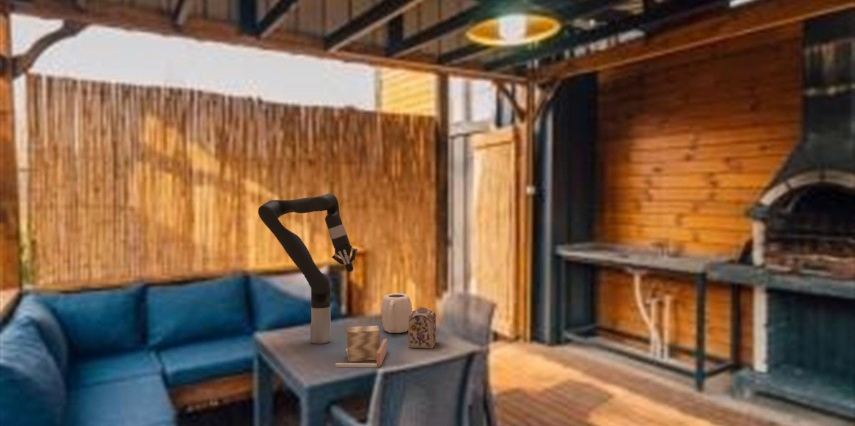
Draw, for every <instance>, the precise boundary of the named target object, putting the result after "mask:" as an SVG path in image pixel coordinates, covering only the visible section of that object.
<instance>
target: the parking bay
mask: <svg viewBox="0 0 855 426" xmlns="http://www.w3.org/2000/svg"><path fill="white" fill-rule="evenodd" d="M345 353H347V348H346V349H345ZM387 353H388V338H383V339H382V342H380V347H379V349H378V351H377V353H376V359H377V360H376V363H375V362H374V363H369V362H365V363H361V362H348V363H347V362H335V368H381V366H382V364H383V362H384V360H385V358H386V355H387Z"/></svg>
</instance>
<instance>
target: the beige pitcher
mask: <svg viewBox="0 0 855 426" xmlns="http://www.w3.org/2000/svg"><path fill="white" fill-rule="evenodd" d="M380 306H381V307H380V313H381V320H382V322H381V323H382V326H383V329H384V331H385V332H387V333H390V334H391V333H392V334H401V333H406V332H407V331H408V325H409V320H408V319H409V316H410V313H411V312H412V311H413V307H412V301H411V298H410V295H408V294H406V293H405V290H401V293H399V292H398V293H396V292H395V293H388V294H386V295H384V296H383V298H382V302H381V305H380Z"/></svg>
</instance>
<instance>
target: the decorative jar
mask: <svg viewBox="0 0 855 426" xmlns="http://www.w3.org/2000/svg"><path fill="white" fill-rule="evenodd" d="M408 320H409V325H408V330H407V331H408V348H411V349H434V346H435V344H436V343H437V315H436V312H435V311H433V310H430V309H428V307H427V306H420V307H417V310H412V312H411V313H410V316H409V319H408Z"/></svg>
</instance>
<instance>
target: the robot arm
mask: <svg viewBox="0 0 855 426" xmlns="http://www.w3.org/2000/svg"><path fill="white" fill-rule="evenodd" d="M324 211H325V212H326V213H327V215H326V216H325V217H324V221H325V224H326V227H327V229H328V234H329V237H330V240H331V244H332V245H333V248H334V254H333V255H332V256H331V258H332V259H333V260H334V261H336V262H337V263H338V264H339V265H344V266H345V269H346V272H348V273H351V272H353V271H354V266H353V263H352V262H353V261H355V260H356V256H357V252H358V248H356V247H355V248H354V247H353V245H351V242H350V238H349V237H348V236H349V235H348V234H347V230H346V228H345V226H344V223H343V221H342V219H341V218H342V217H341V215H340V205H339V200H338V198H337V196H336V195H335V194H334V193H326V194H323V195H319V196H309V197H308V196H307V197H303V198H295V199H287V200H286V199H284V200H283V199H270V200H268V201H266V202H265V203H263V204H262V205H260V206H259V207H258V209H257V215H258V217H259V219H260V220H261V222H263V224H264V225H265V226H266V227H267V228H268V229H269V231H270V232H271V233H272V234H273V236H274V237H275V239H277V241H278V243H280V245H281V246H282V248H283V250H284V251H285V253H286V254H287V256H288V257H289V258H290V260H291V262H293V263H294V264H295V266H296V267H297V269H299V270H300V272H301V273H302V274H303V276H304V278H305V279H306V281H307V283H308V286H309V287H310V295H311V296H310V307H311V308H310V310H311V311H310V312H311V313H310V314H311V322H310V343H312V344H319V345H320V344H327V343H330V342H331V341H332V328H331V327H332V325H331V324H332V323H331V320H332V319H331V280H330V278H329V276H328V275H327V274H325V273H323V272H322V271H321V270H320V268H318V266H317V265H316V264H315V262H314V260H313V259H314V258H313V257H312V255H311V253H310V251H309V249H308V247H307V246H306V244H305V243H304V241H303V239H302V238H301V237H300V236H299V235H297V234H296V233H295V232H293V231H291V230H289V229H288V228H286V227H285V226H284V225H283V223H282V222H281V221H280V219H279V218H280V217H281V216H283V215H287V214H289V213H296V214H309V213H313V212H324Z"/></svg>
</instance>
